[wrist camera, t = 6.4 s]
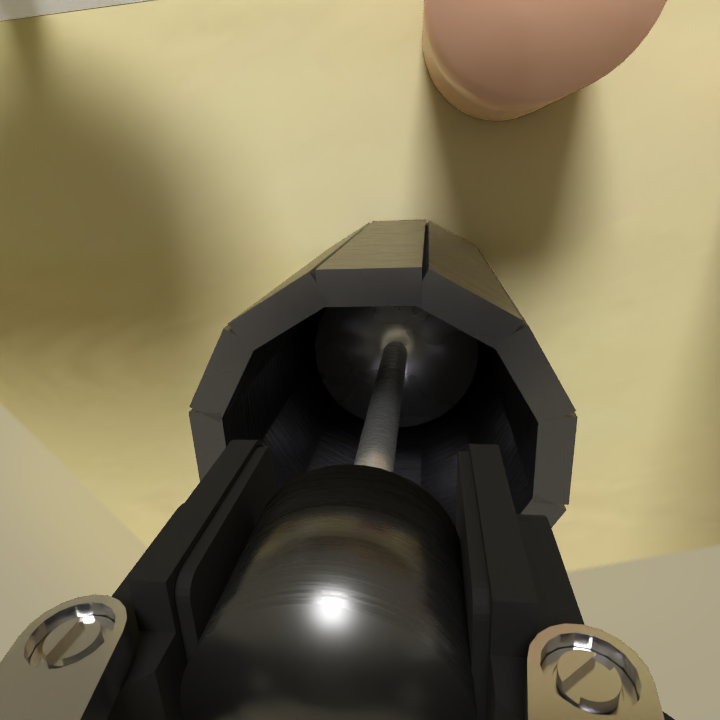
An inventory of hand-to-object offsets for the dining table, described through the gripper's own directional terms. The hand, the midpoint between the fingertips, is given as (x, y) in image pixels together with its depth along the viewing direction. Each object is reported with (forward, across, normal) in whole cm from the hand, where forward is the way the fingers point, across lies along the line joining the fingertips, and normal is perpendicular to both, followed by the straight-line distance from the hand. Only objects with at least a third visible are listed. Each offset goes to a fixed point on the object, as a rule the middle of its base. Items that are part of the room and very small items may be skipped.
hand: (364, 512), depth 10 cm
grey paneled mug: (+14, 0, 0) cm, 14 cm away
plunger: (+10, 0, 0) cm, 10 cm away
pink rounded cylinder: (+14, -4, -11) cm, 18 cm away
